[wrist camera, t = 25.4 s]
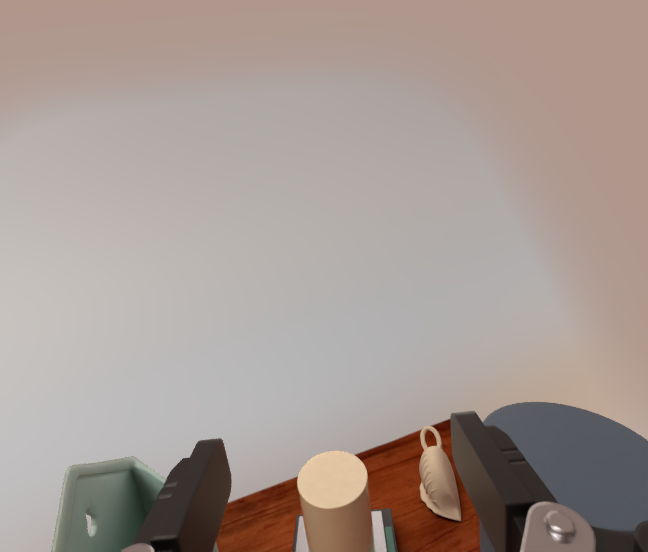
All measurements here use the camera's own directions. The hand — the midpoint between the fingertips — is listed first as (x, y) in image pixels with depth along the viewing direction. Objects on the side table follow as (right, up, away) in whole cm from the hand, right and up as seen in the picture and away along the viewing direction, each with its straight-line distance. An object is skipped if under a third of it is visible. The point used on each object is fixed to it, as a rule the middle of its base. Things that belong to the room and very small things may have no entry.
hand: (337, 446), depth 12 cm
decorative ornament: (+13, -19, +28) cm, 37 cm away
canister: (+1, -20, +20) cm, 28 cm away
